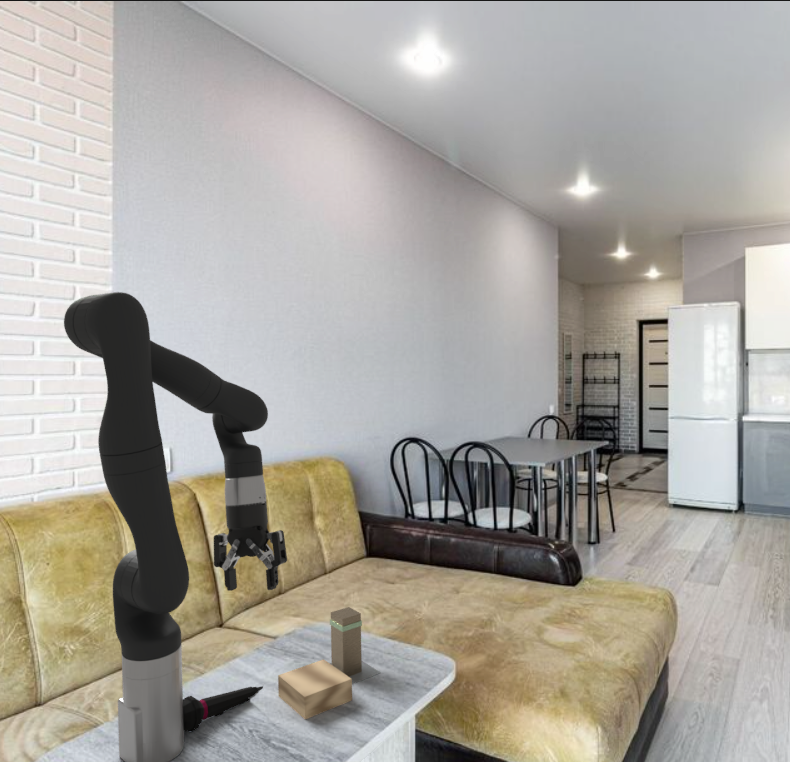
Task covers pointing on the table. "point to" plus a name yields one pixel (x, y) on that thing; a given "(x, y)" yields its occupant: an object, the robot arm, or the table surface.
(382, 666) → the table surface
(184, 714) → the microphone
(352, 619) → the column
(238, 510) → the robot arm
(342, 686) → the rest block
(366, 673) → the coaster
